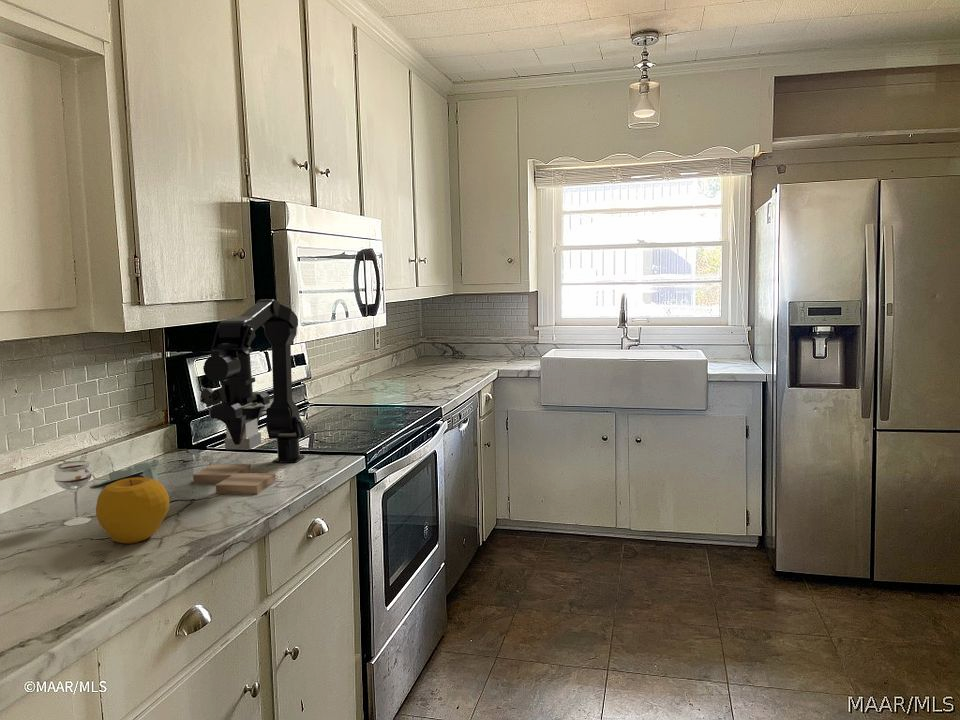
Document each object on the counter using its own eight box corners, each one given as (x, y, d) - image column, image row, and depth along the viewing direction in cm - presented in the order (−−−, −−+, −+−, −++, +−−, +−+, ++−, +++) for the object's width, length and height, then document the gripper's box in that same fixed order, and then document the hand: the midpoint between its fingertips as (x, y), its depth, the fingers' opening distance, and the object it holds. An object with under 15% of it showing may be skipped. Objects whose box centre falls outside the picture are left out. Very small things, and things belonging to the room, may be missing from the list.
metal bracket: (174, 453, 188) (123, 468, 174) (180, 475, 188) (130, 492, 174) (136, 464, 194) (84, 480, 180) (142, 486, 194) (91, 503, 180)
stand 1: (214, 471, 190) (213, 463, 190) (251, 471, 189) (250, 464, 188) (193, 482, 180) (193, 474, 180) (232, 483, 179) (232, 475, 179)
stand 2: (236, 481, 181) (236, 472, 181) (275, 481, 179) (275, 473, 179) (216, 493, 171) (215, 485, 171) (257, 494, 169) (256, 485, 169)
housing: (237, 443, 177) (235, 418, 177) (261, 443, 176) (259, 418, 176) (225, 449, 172) (223, 423, 171) (249, 449, 171) (247, 423, 170)
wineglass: (68, 516, 158) (63, 461, 156) (101, 515, 158) (96, 459, 156) (52, 527, 151) (46, 470, 149) (86, 526, 151) (81, 468, 150)
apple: (144, 522, 152) (139, 468, 151) (186, 532, 146) (182, 475, 144) (84, 543, 141) (78, 485, 140) (126, 555, 135) (121, 493, 133)
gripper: (225, 369, 182) (230, 432, 184) (184, 381, 164) (190, 451, 166) (268, 368, 181) (272, 432, 183) (231, 381, 162) (237, 451, 164)
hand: (243, 441), depth 174 cm, fingers closed on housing, 6 cm apart
